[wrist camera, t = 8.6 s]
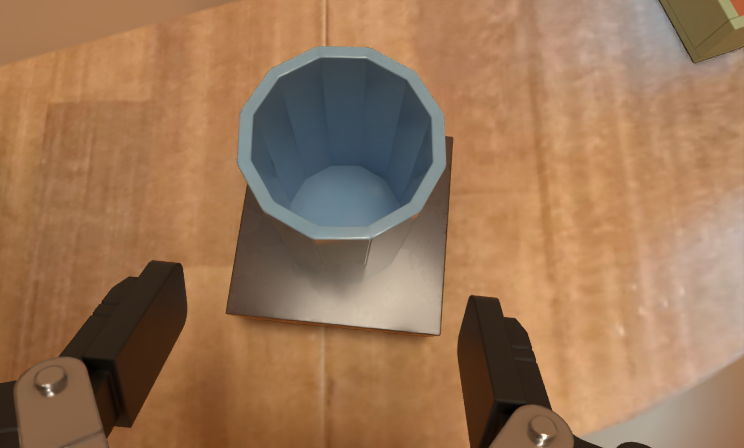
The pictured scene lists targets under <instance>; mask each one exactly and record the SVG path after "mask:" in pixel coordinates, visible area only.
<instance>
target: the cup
mask: <svg viewBox="0 0 744 448" xmlns="http://www.w3.org/2000/svg"><path fill="white" fill-rule="evenodd" d="M237 164H238V167H239V169H240V171H241V173H242V174H243V176H244V178H245V180H246V182H247V183H248V185H249V187H250V189H251V191H252V192H253V194H254V196H255V198H256V200H257V201H258V203H259V205H260V207H261V209H262V210H263V212H264V213H265V215H266V216H267V218H268V220H269V221H270V223H271V224H272V226H273V227H274V229H275V230H276V232H277V233H278V235H279V236H280V238H281V239H282V241H283V242H284V244H285V245H286V247H287V248H288V250H289V251H290V253H291V254H292V256H293V257H294V259H295V261H296V262H297V264H298V265H299V266H301V267H302V268H304V269H306V270H308V271H309V272H311V273H313V274H314V275H316V276H318V277H320V278H321V279H323V280H325V281H327V282H363V281H365V280H367V279H368V278H370V277H372V276H374V275H375V274H377V273H379V272H381V271H382V270H384V269H386V268H387V267H389V266H391V265H392V263H393V261H394V260H395V258H396V256H397V254H398V252H399V251H400V249H401V247H402V245H403V244H404V242H405V240H406V238H407V237H408V235H409V233H410V231H411V229H412V227H413V226H414V224H415V222H416V220H417V218H418V217H419V215H420V213H421V211H422V209H423V208H424V206H425V204H426V202H427V200H428V198H429V197H430V195H431V193H432V191H433V189H434V188H435V186H436V184H437V182H438V180H439V179H440V177H441V175H442V173H443V171H444V170H445V168H446V145H445V121H444V115H443V112H442V111H441V109H440V108H439V106H438V105H437V103H436V102H435V100H434V99H433V97H432V96H431V94H430V93H429V91H428V89H427V88H426V86H425V85H424V83H423V82H422V80H421V79H420V77H419V76H418V74H417V73H415V71H413V70H412V69H410V68H408V67H406V66H404V65H402V64H400V63H398V62H397V61H395V60H393V59H391V58H389V57H387V56H385V55H383V54H382V53H380V52H378V51H376V50H374V49H372V48H369V47H333V46H318V47H314V48H312V49H310V50H308V51H306V52H304V53H302V54H300V55H298V56H296V57H294V58H292V59H290V60H288V61H286V62H283V63H281V64H279V65H277V66H275V67H273V68H271V70H269V71H268V73H267V74H266V75H265V77H264V78H263V80H262V81H261V82H260V84H259V85H258V87H257V88H256V90H255V91H254V92H253V94H252V95H251V97H250V98H249V100H248V101H247V102H246V104H245V105H244V107H243V108H242V110H241V112H240V119H239V135H238V152H237Z"/></svg>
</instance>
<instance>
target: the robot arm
mask: <svg viewBox="0 0 744 448" xmlns="http://www.w3.org/2000/svg"><path fill="white" fill-rule="evenodd" d="M186 317H187V298H186V290H185V281H184V273H183V267H182V265H181V264H180V263H174V262H165V261H155V260H152V261H150V262H149V263H148V265H147V266H146V267H145V269H144V270H143V272H142V273H141V274H140V276H139V277H130V276H129V277H128V278H126V279H125V280H123V281H122V282H120V283H119V284H117V285H116V286H114V287H112V289H111V290H110V291H109V292H108V294H107V295H106V296H105V298H104V299H103V300H102V303H101V304H99V305H98V307H97V308H96V309H95V311H94V312H93V315H92V316H90V317H89V318H88V320H87V321H86V322H85V323H84V325H83V326H82V327H81V329H80V330H79V331H78V332H77V334H76V335H75V336H74V338H73V339H72V340H71V341H70V343H69V344H68V345H67V347H66V348H65V349H64V351H63V352H62V353H61V354H60V356H59V357H56V358H51V359H48V360H45V361H42V362H40V363H38V364H36V365H34V366H32V367H31V368H29V369H28V370H27V371H25V372H24V373H23V374H22V375H21V376H20V378H19V379H18V380H17V381H11V382H5V383H0V448H109V445H108V442H107V438H108V436H109V435H110V433H111V431H112V429H113V427H114V426H118V427H128V428H131V427H132V425H133V423H134V421H135V419H136V417H137V415H138V413H139V411H140V409H141V407H142V406H143V404H144V402H145V400H146V398H147V396H148V394H149V392H150V390H151V388H152V386H153V385H154V383H155V381H156V379H157V377H158V375H159V373H160V371H161V369H162V367H163V365H164V364H165V362H166V360H167V358H168V356H169V354H170V352H171V350H172V348H173V346H174V344H175V343H176V341H177V339H178V337H179V335H180V333H181V331H182V329H183V327H184V325H185V321H186ZM457 356H458V364H459V371H460V378H461V385H462V392H463V399H464V406H465V413H466V420H467V427H468V434H469V441H470V448H602V447H599V446H597V445H594V444H591V443H589V442H586V441H584V440H582V439H580V438H578V437H576V436H575V435H573V434H572V431H571V429H570V427H569V426H568V424H567V423H566V422H565V421H564V420H563V418H561V417H560V416H559V415H558V414H556V413H555V412H554V411H552V408H551V405H550V402H549V399H548V396H547V393H546V389H545V386H544V383H543V380H542V377H541V374H540V371H539V368H538V365H537V363H536V358H535V355H534V352H533V351H532V346H531V343H530V340H529V336H528V333H527V332H526V330H525V329H524V328H523V327H522V326H521V324H520V323H519V322H518V321H517V320H516V318H508V317H504V316H503V313H502V309H501V305H500V302H499V299H498V298H494V297H485V296H475V295H471V296H470V297H469V299H468V303H467V306H466V310H465V314H464V318H463V321H462V325H461V329H460V333H459V337H458V346H457ZM617 448H651V447H649V446H647V445H644V444H640V443H636V442H626V443H623V444H620V445H619V446H618V447H617Z"/></svg>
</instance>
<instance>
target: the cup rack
mask: <svg viewBox="0 0 744 448" xmlns="http://www.w3.org/2000/svg"><path fill="white" fill-rule="evenodd" d="M660 2H661V3H662V5H663V7H664V9H665V11H666V13H667V14H668V16H669V18H670V20H671V22H672V23H673V25H674V27H675V29H676V31H677V32H678V34H679V36H680V38H681V40H682V41H683V43H684V45H685V47H686V49H687V51H688V52H689V54H690V56H691V58H692V60H693V61H694V63H695V62H698V61H701V60H704V59H708V58H711V57H714V56H717V55H720V54H723V53H726V52H729V51H732V50H735V49H738V48H741V47H744V0H660Z"/></svg>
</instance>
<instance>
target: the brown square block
mask: <svg viewBox="0 0 744 448" xmlns="http://www.w3.org/2000/svg"><path fill="white" fill-rule="evenodd" d="M445 145H446V168H445V170H444V171H443V173H442V175H441V177H440V179H439V180H438V182H437V184H436V186H435V188H434V189H433V191H432V193H431V195H430V197H429V198H428V200H427V202H426V204H425V206H424V208H423V209H422V211H421V213H420V215H419V217H418V218H417V220H416V222H415V224H414V226H413V227H412V229H411V231H410V233H409V235H408V237H407V238H406V240H405V242H404V244H403V245H402V247H401V249H400V251H399V252H398V254H397V256H396V258H395V260H394V261H393V263H392V265H391V266H389V267H387V268H386V269H384V270H382V271H381V272H379V273H377V274H375V275H374V276H372V277H370V278H368V279H367V280H365V281H363V282H327V281H325V280H323V279H321V278H320V277H318V276H316V275H314V274H313V273H311V272H309V271H308V270H306V269H304V268H302V267H301V266H299V265H298V264H297V262H296V261H295V259H294V257H293V256H292V254H291V253H290V251H289V250H288V248H287V247H286V245H285V244H284V242H283V241H282V239H281V238H280V236H279V235H278V233H277V232H276V230H275V229H274V227H273V226H272V224H271V223H270V221H269V220H268V218H267V216H266V215H265V213H264V212H263V210H262V209H261V207H260V205H259V203H258V201H257V200H256V198H255V196H254V194H253V192H252V191H251V189H250V187H249V185H248V183H247V188H246V194H245V200H244V206H243V212H242V218H241V224H240V230H239V236H238V242H237V248H236V254H235V260H234V266H233V272H232V278H231V284H230V290H229V296H228V302H227V308H226V314H228V315H233V316H237V317H242V318H248V319H258V320H268V321H277V322H287V323H297V324H306V325H316V326H326V327H336V328H345V329H355V330H365V331H375V332H384V333H394V334H404V335H414V336H423V337H431V336H440V334H441V318H442V303H443V288H444V272H445V257H446V241H447V226H448V211H449V195H450V180H451V165H452V149H453V137H448V136H445Z"/></svg>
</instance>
